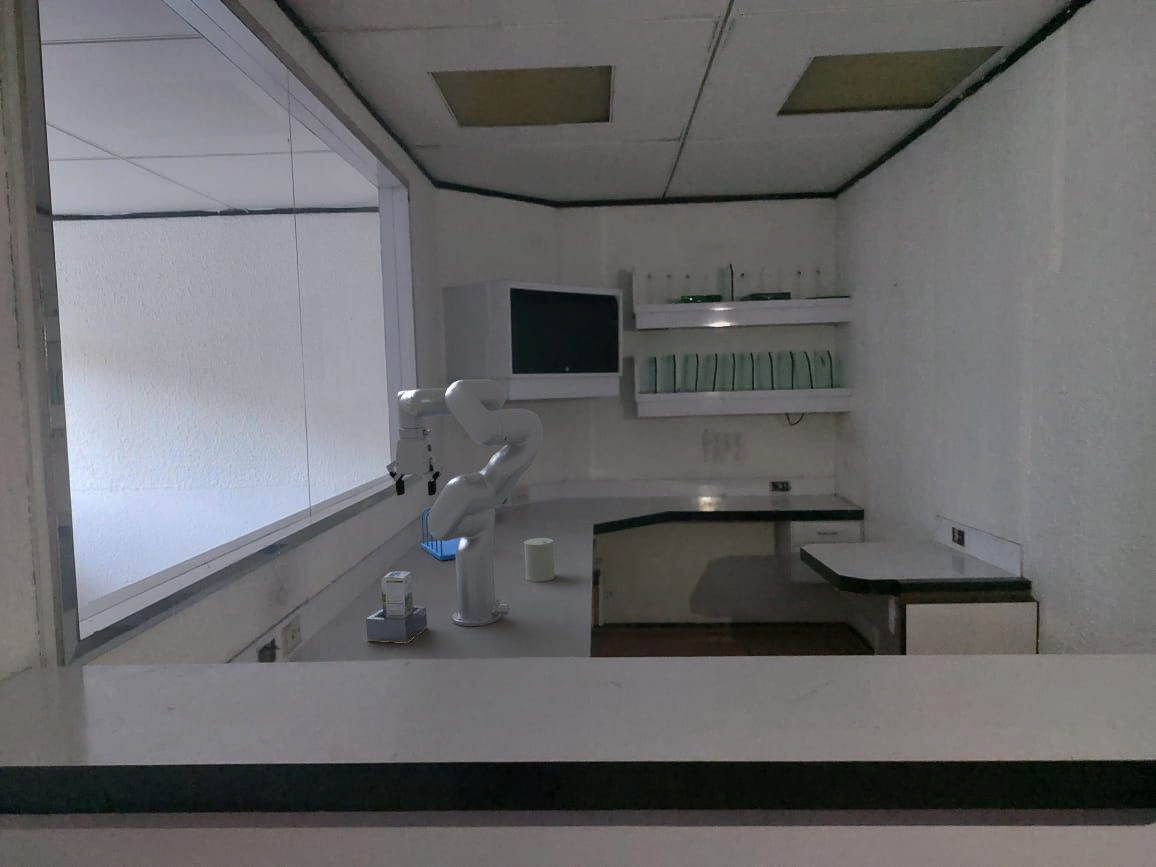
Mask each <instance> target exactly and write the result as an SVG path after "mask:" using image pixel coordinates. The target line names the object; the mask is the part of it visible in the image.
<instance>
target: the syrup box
mask: <svg viewBox="0 0 1156 867" xmlns="http://www.w3.org/2000/svg"><path fill="white" fill-rule="evenodd" d="M412 579H413V578H412V572H411V571H403V570H402V571H400V570H399V571H397V570H396V571H395V570H394V571H390V572H388V573H387V574H385V576H383V577H382V578H381V601H382V603H381V604H382V608H383V618H396V619H404V618H405V617H407V616H408V615H410V614H411V613H413V606H414V604H413V602H414V601H413V600H414V599H413V581H412Z"/></svg>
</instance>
